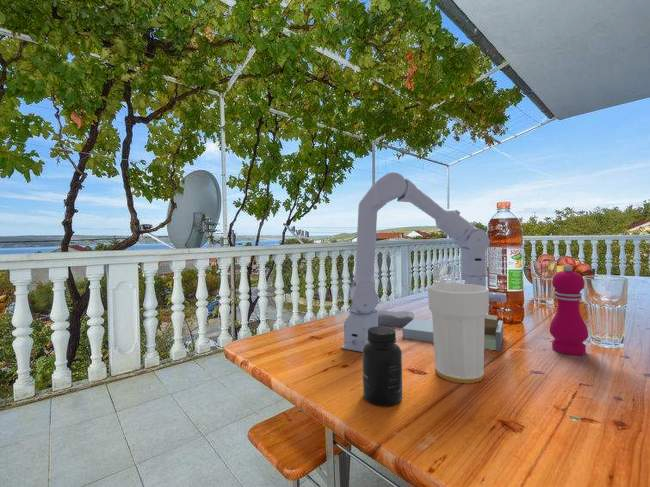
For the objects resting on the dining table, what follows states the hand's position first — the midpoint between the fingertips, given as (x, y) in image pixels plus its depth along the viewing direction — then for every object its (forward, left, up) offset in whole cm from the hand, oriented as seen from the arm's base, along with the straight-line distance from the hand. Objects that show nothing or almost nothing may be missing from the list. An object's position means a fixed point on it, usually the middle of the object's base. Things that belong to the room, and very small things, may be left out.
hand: (474, 327), depth 84 cm
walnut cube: (0, -3, -1) cm, 3 cm away
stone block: (+8, +24, -4) cm, 26 cm away
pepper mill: (+2, -20, -4) cm, 20 cm away
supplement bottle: (-38, +10, -4) cm, 40 cm away
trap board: (0, +6, -3) cm, 7 cm away
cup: (-22, 0, -4) cm, 22 cm away
